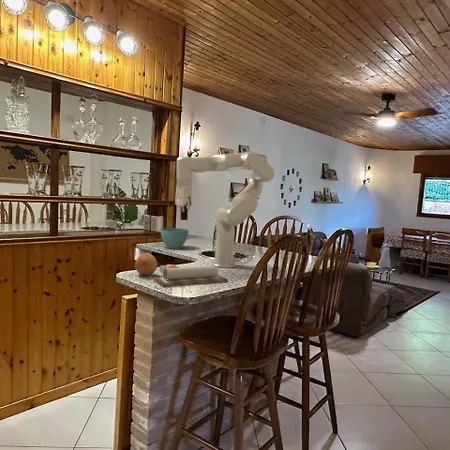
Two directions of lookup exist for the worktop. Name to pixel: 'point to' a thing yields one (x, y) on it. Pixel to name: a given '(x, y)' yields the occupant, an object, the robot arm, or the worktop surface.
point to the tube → (189, 272)
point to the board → (189, 281)
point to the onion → (146, 264)
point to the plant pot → (174, 237)
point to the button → (170, 266)
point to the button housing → (165, 267)
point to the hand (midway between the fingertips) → (184, 219)
